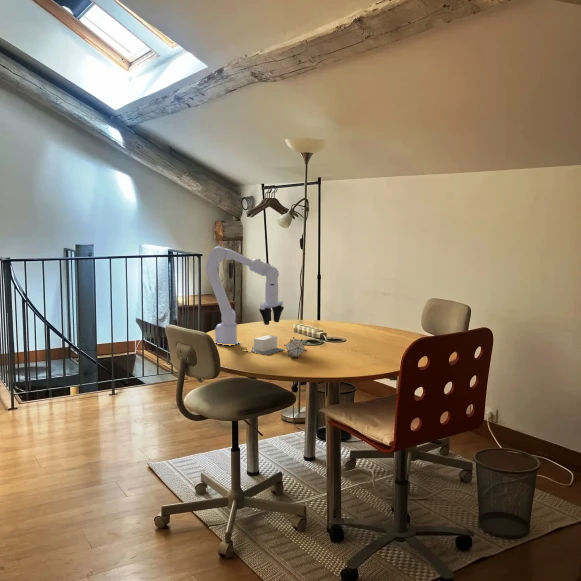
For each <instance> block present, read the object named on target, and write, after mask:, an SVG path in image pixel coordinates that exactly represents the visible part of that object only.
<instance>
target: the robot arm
mask: <svg viewBox="0 0 581 581" xmlns="http://www.w3.org/2000/svg"><path fill="white" fill-rule="evenodd" d="M224 259H225V261H228V260H229V261H230V260H233V261H235V262H237V263H240V264H243V265H245V266H247V267H248V268H249V270H250V272H253V273H255V274H257V275H260V276H262V277H263V276H265V283H264V284H265V287H264V288H265V290H264V291H265V292H264V294H265V295H264V296H265V298H264V299H265V301H264V302H265V303H262V304H260V306H259V309H258V310H259V313H260V314H261V316H262V317H261V318H262V320H263V324H264V325H267V326H268V325H270V322H271V321H270V319H271V315H272V314H271V313H273V322H274V323H279V322H280V318H281V316H282V314H283V311H284V307H285V306H283V304H284V301H279V283H278V282H279V276H280V273H279V270H278V269H277V268H276V267H275V266H273V265H271V264H270V263H266V262H264V261H262V260H261V259H260V258H254V259H250V258H248V257H246V256H245V255H242V254H240V253H238V252H236V251H234V250H233V249H229V248H226V247H225V248H224V247H222V246H219V245H216V246H214V247H213V248H212V249H211V251H210V252H209V254H208V256H207V260H206V264H205V271H206V274H207V277H208V280H209V283H210V285H211V288H212V291H213V293H214V296H215V299H216V301H217V304H218V306H219V310H220V313H221V317H220V318H221V322H220V323H218V324H217V325H216V327H215V328H214V332H215V333H214V337H215V339H214V343H215V342H216V343H222V344H237V345H239V344H238V343H242V342H239V341H238V335H237V334H238V323H237V322H236V321H237V320H236V319H237V313H236V310H234V309H233V308H232V306H231V303H230V301H229V299H228V296H227V294H226V291H225V288H224V285H223V283H222V280H221V277H220V275H219V273H218V267H219V265H220V263H221V262H222V261H223V260H224Z"/></svg>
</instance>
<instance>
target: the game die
mask: <svg viewBox="0 0 581 581" xmlns="http://www.w3.org/2000/svg"><path fill="white" fill-rule="evenodd" d="M303 339H304V338H301V339H298V338H295V336H293V337H292V339H289V342H288V343H286V344H283V346H285V347H286V350H287V351H286V353H288V356H287V357H288V358H289V357H295V358H296V359H297V360H298V357H301V355H302V354H303V353H304V352H307V351H308V350H307V349H305V346H304V343H303Z"/></svg>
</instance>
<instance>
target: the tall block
mask: <svg viewBox="0 0 581 581" xmlns="http://www.w3.org/2000/svg"><path fill="white" fill-rule="evenodd" d="M253 347H254V350H256V351H262V352H264V351H268V350H271V349H274V348H278V336H277V335H270V334H267V335H264V336H263V335H262V336H259V337H255V338H253Z"/></svg>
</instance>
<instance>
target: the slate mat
mask: <svg viewBox="0 0 581 581" xmlns="http://www.w3.org/2000/svg"><path fill="white" fill-rule="evenodd" d="M251 347H252V350H251V352H256V353H255V354H257V353H261V354H260V355H263V354H266V355H265V356H270V355H269V354H271V355H273V354H272V353H274V354H277V353H280V352H283V351H285V349H284V348H278V347H277V348H274V349H271V350H268V351H264V352H262V351H256V350H254V346H251ZM253 350H254V351H253ZM282 350H283V351H282ZM279 351H280V352H279ZM251 352H250V353H251ZM276 352H277V353H276Z"/></svg>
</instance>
